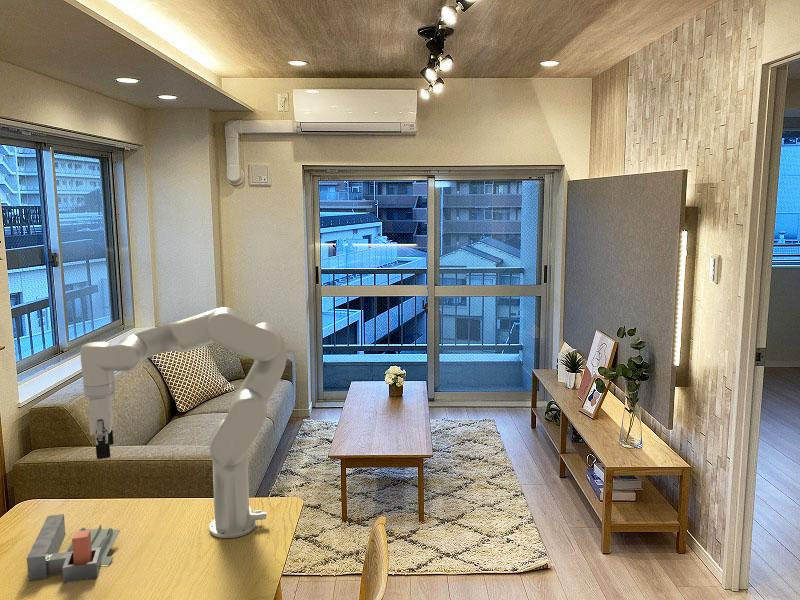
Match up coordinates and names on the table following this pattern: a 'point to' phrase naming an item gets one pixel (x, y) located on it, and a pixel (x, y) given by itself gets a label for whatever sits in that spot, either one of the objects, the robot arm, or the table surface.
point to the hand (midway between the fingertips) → (105, 451)
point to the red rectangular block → (82, 547)
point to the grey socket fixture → (58, 555)
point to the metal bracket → (101, 541)
